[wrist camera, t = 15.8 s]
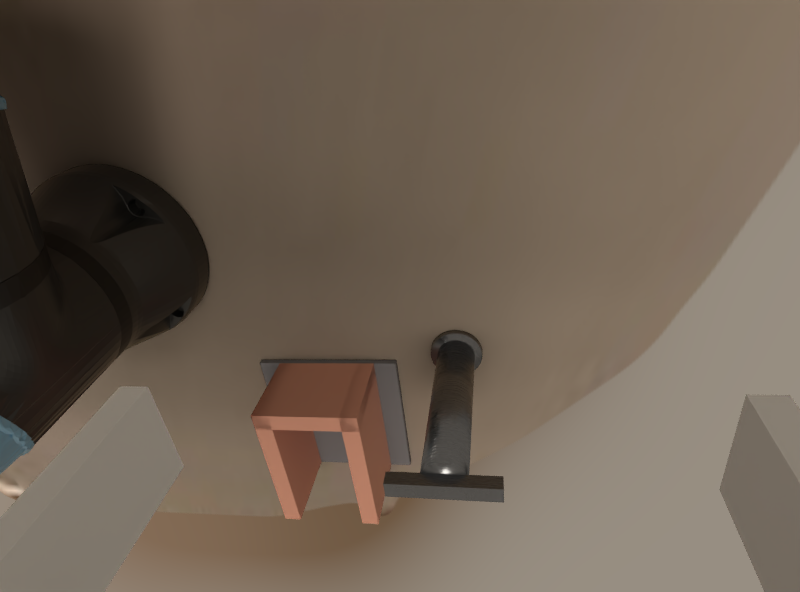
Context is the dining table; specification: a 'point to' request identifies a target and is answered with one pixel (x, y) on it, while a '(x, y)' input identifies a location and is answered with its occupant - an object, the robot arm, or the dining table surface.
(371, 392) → the c link
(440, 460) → the stand
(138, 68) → the dining table surface
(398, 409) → the mat
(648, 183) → the dining table surface
